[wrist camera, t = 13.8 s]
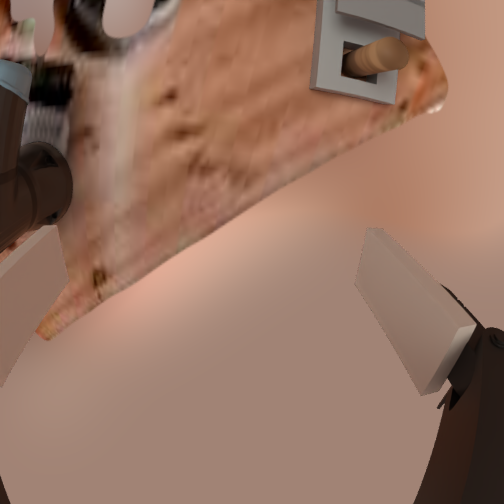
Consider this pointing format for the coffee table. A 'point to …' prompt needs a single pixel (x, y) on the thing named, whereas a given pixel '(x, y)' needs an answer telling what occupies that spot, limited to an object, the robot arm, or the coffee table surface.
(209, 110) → the coffee table surface
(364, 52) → the dowel
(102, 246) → the coffee table surface
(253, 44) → the coffee table surface
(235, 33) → the coffee table surface
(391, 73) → the socket block
